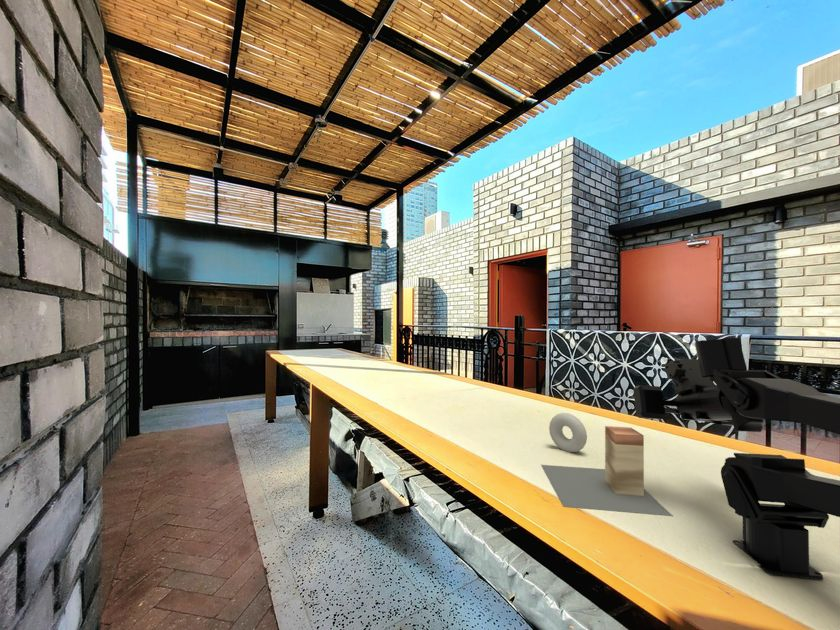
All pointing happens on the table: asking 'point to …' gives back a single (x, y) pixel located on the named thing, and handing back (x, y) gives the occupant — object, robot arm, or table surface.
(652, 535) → the table surface
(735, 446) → the table surface
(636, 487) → the pine block
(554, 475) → the rubber mat
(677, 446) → the table surface
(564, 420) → the donut
